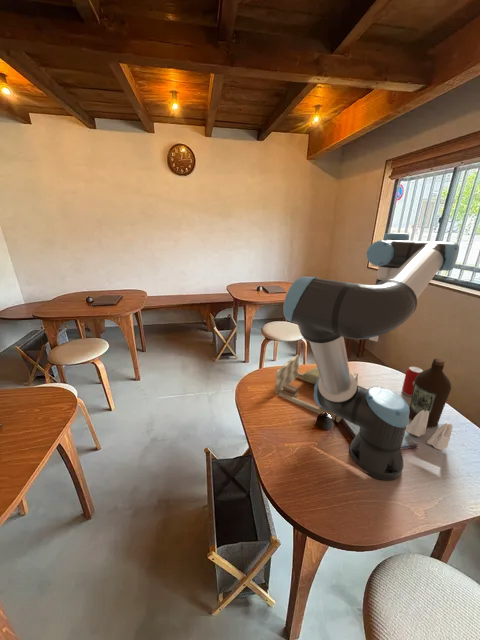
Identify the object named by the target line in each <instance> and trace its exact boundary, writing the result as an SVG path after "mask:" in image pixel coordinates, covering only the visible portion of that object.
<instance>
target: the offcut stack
mask: <svg viewBox="0 0 480 640" xmlns="http://www.w3.org/2000/svg"><path fill="white" fill-rule="evenodd" d="M281 392H283V393H285V394H288V395H290V396H292V397H295V398H298V396H299V394H300V393H299V387H296V386H294V385H291V384H287V383H286V384H285V385H284V386H283V388H282V389H281Z"/></svg>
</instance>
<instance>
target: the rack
mask: <svg viewBox="0 0 480 640" xmlns="http://www.w3.org/2000/svg"><path fill="white" fill-rule="evenodd" d="M299 364H300V355H299V354H295V356H293V357H292V358H290V360H288V361H287V362H286V363H284V364H283V365H282V366H281V367H280V368H278V369H277V370H276V374H275V392H274V394H275V395H277V396H279V397H281V398H283V399H285V400H288V401H290V402H292V403H294V404H295V405H297V406H301V408H305V409H307V410H308V411H311V412H314V413H315V414H318V415H320V413H322V412H327V413H328V414H330V415H331V417H332V419H333V420H332V419H331V420H332V421H335V422H337V423H340V421H341V420H342V418H341V417H339V416H336V415H335V414H333V413H331V412H329V411H326V410H324V409H321V408H320V406H318V405H314V404H312V403H309V402H307V401H304V400H303V399H299V398H298V397H296V398H295V397H292V396H290V395H288V394H285V393H283V392H281V389H282V388H283V386H284V385H285V384H286V383H287V384H289V385H291V383H292V382H293V381H295V379H297V378H298V379H300V380H303V381H305V382H308V383H310V384H312V385H315V384H316V383H314V382H311V381H308V380H305V379H304V378H303V375H304V373H301V372H299V366H300V365H299ZM352 375H353V376H354V378H355V380H356V382H357V377H359V373H358V372H354V373H353V374H352ZM335 417H336V418H335Z"/></svg>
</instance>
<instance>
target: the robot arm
mask: <svg viewBox="0 0 480 640" xmlns="http://www.w3.org/2000/svg"><path fill="white" fill-rule="evenodd" d="M459 252H460V245H459V244H458V243H457V242H449V241H425V240H424V241H423V240H422V241H419V240H418V241H417V240H410V235H409V233H406V232H402V233H401V232H386V233H385V234H384V235H383V239H379V240H377V241H375V242H373V243H371V244H370V245H369V247H368V248H367V251H366V258H367V261H368V262H369V263H370V264H371V265H372V266H378V267H377V274H376V278H377V279H376V281H375V284H366V283H365V284H364V283H356V282H355V283H354V282H350V281H341V280H333V279H328V278H327V279H325V278H319V277H318V276H305V275H304V276H300V277H298V278H297V279H296V280H294V281H293V283H292V284H291V285H290V286H289V288H288V290H287V292H286V295H285V298H284V301H283V307H282V309H283V316H284V318H285V320H286V321H288V322H290V324H296V325H297V326H298V330H299V332H300V335H301V336H302V337H303V339H304V340H306V341H307V342H309V345H310V348H311V350H312V355H313V358H314V362H315V365H316V368H318V371H319V375H320V377H319V378H318V380H317V382H316V384H314V388H313V391H314V392H313V400H314V402H315V404H316V406H317V407H319V408H320V407H321V408H323V409H324V410H326V411H329V412H331V413H333V414H335V415H337V416H339V417H341V419H342V420H345V421H348V422H349V423H352V424H353V425H355V426H357V427H359V431H358V433H357V434H356V435H355V436H354V438H353V439H352V440H351V443H350V447H349V453H350V454H349V455H350V457H351V458H352V460H353V462H354V463H355V464H356V465H357V466H358V467H359V468H360V469H362V470H361V472H362V473H364V474H365V475H368V476H369V477H372V478H373V479H377V480H381V481H393V480H396V479H398V478H399V477H401V475H402V473H403V469H404V458H403V452H402V446H403V441H404V437H405V434H406V427H407V426H408V425H409V421H410V420H409V419H410V417H409V413H410V410H409V408H410V405H409V404H408V403H407V402H406V400H405V398H403V397H402V396H401V395H400V394H398V393H397V392H395V391H393V390H392V389H389V388H387V387H383V386H380V387H379V386H372V387H369V388H365V387H362V386H360V385H358V383H357V382H356V380H355V378H354V376H353V375H354V374H352V373H351V372H350V366H349V362H348V361H349V360H348V355H347V348H346V343H345V342H346V341H345V339H348V340H349V339H350V340H367V339H368V340H369V341H373V342H378V341H379V337H380V336H382V335H385V334H387V333H390V332H392V331H395V330H396V329H397V328H399V327H401V326H403V324H405V323H406V322H407V321H408V320H410V318H411V317H412V316H413V314H414V313H415V312H416V310H417V306H418V301H419V300H418V298H419V297H420V296H421V295H422V293H423V292H424V290H425V289H426V288H427V286H428V285H429V283H431V281H432V280H433V278H434V277H435V275H436V274H437V273H438V272H439V271H444V272H445V271H447V272H448V271H452V270H453V269H454V267H455V265H456V263H457V260H458V256H459Z"/></svg>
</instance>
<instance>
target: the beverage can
mask: <svg viewBox="0 0 480 640" xmlns="http://www.w3.org/2000/svg"><path fill="white" fill-rule="evenodd" d="M422 371H424V370H423V369H422V368H421V367H419V366H409V367H408V368H407V369H406V371H405V376H404V378H403V379H404V380H403V385H402V389H401V390H402V392H403V394H405V395H406V396H408V397H411V398H412V393H413V388H414V382H415V378H416V377H417V375H418V374H419V373H420V372H422Z"/></svg>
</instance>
